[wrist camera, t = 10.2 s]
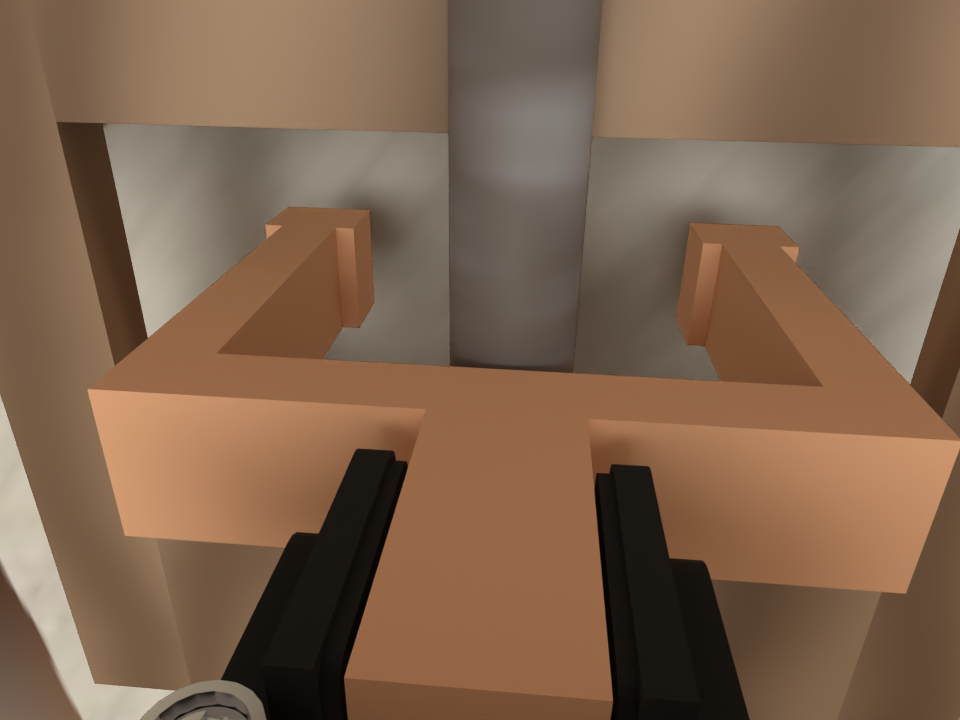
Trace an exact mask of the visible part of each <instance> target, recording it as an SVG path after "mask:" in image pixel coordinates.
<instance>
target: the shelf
mask: <svg viewBox="0 0 960 720" xmlns="http://www.w3.org/2000/svg"><path fill="white" fill-rule="evenodd" d="M102 123H114V124H150V125H186V126H221V127H257V128H293V129H329V130H364V131H400V132H436V133H449V288H450V366H452V367H470V368H488V369H506V370H524V371H542V372H561V373H573V367H574V354H575V342H576V329H577V317H578V304H579V292H580V279H581V266H582V254H583V241H584V229H585V216H586V203H587V191H588V178H589V166H590V153H591V141H592V137H615V138H650V139H686V140H722V141H758V142H793V143H829V144H865V145H901V146H936V147H960V0H0V395H1V398H2V401H3V404H4V407H5V410H6V413H7V416H8V419H9V422H10V425H11V428H12V431H13V434H14V438H15V441H16V444H17V447H18V450H19V453H20V456H21V459H22V462H23V465H24V468H25V471H26V474H27V477H28V481H29V484H30V487H31V490H32V493H33V496H34V499H35V502H36V505H37V508H38V511H39V514H40V517H41V520H42V524H43V527H44V530H45V533H46V536H47V539H48V542H49V545H50V548H51V551H52V554H53V557H54V560H55V563H56V566H57V570H58V573H59V576H60V579H61V582H62V585H63V588H64V591H65V594H66V597H67V600H68V603H69V606H70V609H71V613H72V616H73V619H74V622H75V625H76V628H77V631H78V634H79V637H80V640H81V643H82V646H83V649H84V652H85V656H86V659H87V662H88V665H89V668H90V671H91V674H92V677H93V680H94V683H95V684H107V685H118V686H130V687H141V688H153V689H164V690H178V689H180V688H183V687H186V686H189V685H192V684H195V683H198V682H204V681H212V680H221V678H222V676H223V674H224V672H225V670H226V668H227V666H228V663H229V661H230V659H231V657H232V655H233V653H234V651H235V649H236V647H237V645H238V643H239V641H240V639H241V637H242V635H243V633H244V631H245V629H246V627H247V625H248V622H249V620H250V618H251V616H252V614H253V612H254V610H255V608H256V606H257V604H258V602H259V600H260V598H261V596H262V594H263V592H264V590H265V588H266V586H267V584H268V582H269V579H270V577H271V575H272V573H273V571H274V569H275V567H276V565H277V563H278V561H279V559H280V557H281V555H282V553H283V551H284V549H285V548H283V547H270V546H256V545H243V544H229V543H215V542H202V541H188V540H175V539H161V538H148V537H134V536H125V534H124V530H123V527H122V523H121V519H120V515H119V511H118V507H117V503H116V499H115V495H114V492H113V488H112V484H111V480H110V476H109V472H108V468H107V464H106V460H105V456H104V453H103V449H102V445H101V441H100V437H99V433H98V429H97V425H96V421H95V418H94V414H93V410H92V406H91V402H90V398H89V394H88V390H87V389H88V388H89V387H90V386H91V385H93V384H94V383H95V382H96V381H97V380H99V379H100V378H101V377H102V376H103V375H105V374H106V373H107V372H108V371H109V370H111V369H112V368H113V367H114V366H115V365H117V364H118V363H119V362H120V361H121V360H123V359H124V358H125V357H126V356H127V355H129V354H130V353H131V352H132V351H133V350H135V349H136V348H137V347H138V346H139V345H140V344H142V343H143V342H144V341H145V340H146V339H148V337H147V333H146V328H145V323H144V319H143V314H142V309H141V304H140V300H139V295H138V290H137V286H136V281H135V276H134V272H133V267H132V262H131V257H130V253H129V248H128V243H127V239H126V234H125V229H124V225H123V220H122V215H121V210H120V206H119V201H118V196H117V192H116V187H115V182H114V178H113V173H112V168H111V163H110V159H109V154H108V149H107V145H106V140H105V135H104V131H103V126H102ZM910 386H911V387H912V388H913V389H914V390H915V391H916V392H917V393H918V394H919V395H920V396H921V397H922V398H923V399H924V400H925V402H926V403H927V404H928V405H929V406H930V407H931V408H932V409H933V410H934V411H935V412H936V413H937V414H938V415H939V416H940V418H941V419H942V420H943V421H944V422H945V423H946V424H947V425H948V426H949V427H950V428H951V429H952V430H953V431H954V432H955V433H956V435H957V436H958V437H959V438H960V230H959V233H958V236H957V239H956V242H955V245H954V249H953V252H952V255H951V258H950V261H949V264H948V268H947V271H946V274H945V277H944V280H943V283H942V286H941V290H940V293H939V296H938V299H937V302H936V305H935V308H934V312H933V315H932V318H931V321H930V324H929V327H928V330H927V334H926V337H925V340H924V343H923V346H922V349H921V352H920V356H919V359H918V362H917V365H916V368H915V371H914V374H913V378H912V381H911V384H910ZM711 581H712V584H713V588H714V592H715V595H716V599H717V603H718V606H719V610H720V613H721V617H722V621H723V624H724V628H725V632H726V635H727V639H728V642H729V646H730V650H731V653H732V657H733V661H734V664H735V668H736V671H737V675H738V679H739V682H740V686H741V690H742V693H743V697H744V701H745V704H746V708H747V711H748V715H749V719H750V720H959V718H960V450H959V452H958V455H957V458H956V460H955V463H954V466H953V468H952V471H951V474H950V476H949V479H948V482H947V484H946V487H945V490H944V492H943V495H942V498H941V501H940V503H939V506H938V509H937V511H936V514H935V517H934V519H933V522H932V525H931V527H930V530H929V533H928V535H927V538H926V541H925V543H924V546H923V549H922V551H921V554H920V557H919V560H918V562H917V565H916V568H915V570H914V573H913V576H912V578H911V581H910V584H909V586H908V589H907V592H906V594H904V593H891V592H877V591H864V590H850V589H837V588H823V587H810V586H796V585H783V584H769V583H756V582H742V581H729V580H715V579H711Z"/></svg>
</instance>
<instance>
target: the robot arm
mask: <svg viewBox="0 0 960 720" xmlns="http://www.w3.org/2000/svg"><path fill="white" fill-rule="evenodd" d="M407 470H408V464H407V462H406V461H399V460H396V457H395V453H394V451H392V450H376V449H360V448H358V449H356V450H355V452H354V454H353V456H352V459H351V461H350V463H349V466H348V468H347V470H346V472H345V475H344V477H343V479H342V482H341V484H340V486H339V488H338V491H337V493H336V495H335V498H334V500H333V502H332V504H331V507H330V509H329V511H328V514H327V516H326V518H325V520H324V523H323V525H322V527H321V530H320V532H319V533H304V532H296V533H295V534H293V535H292V536H291V538H290V539H289V541H288V543H287V545H286V547H285V549H284V551H283V553H282V555H281V557H280V559H279V561H278V563H277V565H276V567H275V569H274V571H273V573H272V575H271V577H270V579H269V582H268V584H267V586H266V588H265V590H264V592H263V594H262V596H261V598H260V600H259V602H258V604H257V606H256V608H255V610H254V612H253V614H252V616H251V618H250V620H249V622H248V625H247V627H246V629H245V631H244V633H243V635H242V637H241V639H240V641H239V643H238V645H237V647H236V649H235V651H234V653H233V655H232V657H231V659H230V661H229V663H228V666H227V668H226V670H225V672H224V674H223V676H222V678H221V680H212V681H204V682H198V683H195V684H192V685H189V686H186V687H183V688H180V689H178V690H176V691H175V692H173V693H171V694H170V695H168V696H166V697H165V698H163V699H161V700H160V701H158V702H157V703H156V704H155V705H154V706H153V707H152V708H151V709H150V710H149V711H148V712H147V713H145V714H144V715H143V716H142V717H141V719H140V720H348V715H347V705H346V694H345V684H344V676H345V673H346V669H347V666H348V663H349V660H350V656H351V653H352V650H353V647H354V643H355V640H356V637H357V633H358V630H359V627H360V624H361V620H362V617H363V614H364V611H365V607H366V604H367V601H368V597H369V594H370V591H371V588H372V584H373V581H374V578H375V574H376V571H377V568H378V565H379V561H380V558H381V555H382V552H383V548H384V545H385V542H386V538H387V535H388V532H389V529H390V525H391V522H392V519H393V516H394V512H395V509H396V506H397V502H398V499H399V496H400V493H401V489H402V486H403V483H404V480H405V476H406V473H407ZM594 493H595V505H596V516H597V527H598V538H599V549H600V560H601V572H602V583H603V594H604V605H605V616H606V627H607V639H608V650H609V661H610V672H611V683H612V694H613V705H612V712H611V719H610V720H750V719H749V715H748V711H747V708H746V704H745V701H744V697H743V693H742V690H741V686H740V682H739V679H738V675H737V671H736V668H735V664H734V661H733V657H732V653H731V650H730V646H729V642H728V639H727V635H726V632H725V628H724V624H723V621H722V617H721V613H720V610H719V606H718V603H717V599H716V595H715V592H714V588H713V584H712V581H711V577H710V573H709V571H708V568H707V565H706V564H705V562H704V561H703V560H689V559H675V558H669V553H668V548H667V544H666V539H665V534H664V530H663V525H662V520H661V515H660V511H659V506H658V501H657V496H656V492H655V487H654V482H653V477H652V473H651V469H650V467H649V466H638V465H621V464H612V465H611V468H610V473H609V474H608V473H597V474H596V480H595V489H594ZM959 720H960V718H959Z"/></svg>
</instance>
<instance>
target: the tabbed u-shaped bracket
mask: <svg viewBox="0 0 960 720" xmlns="http://www.w3.org/2000/svg"><path fill="white" fill-rule="evenodd" d="M265 228H266V237H267V239H266V240H265V241H264V242H262V243H261V244H260V245H259V246H258V247H257V248H255V249H254V250H253V251H252V252H251V253H249V254H248V255H247V256H246V257H245V258H243V259H242V260H241V261H240V262H239V263H237V264H236V265H235V266H234V267H233V268H231V269H230V270H229V271H228V272H227V273H225V274H224V275H223V276H222V277H221V278H219V279H218V280H217V281H216V282H215V283H213V284H212V285H211V286H210V287H209V288H207V289H206V290H205V291H204V292H203V293H201V294H200V295H199V296H198V297H197V298H196V299H194V300H193V301H192V302H191V303H190V304H188V305H187V306H186V307H185V308H184V309H182V310H181V311H180V312H179V313H178V314H176V315H175V316H174V317H173V318H172V319H170V320H169V321H168V322H167V323H166V324H164V325H163V326H162V327H161V328H160V329H158V330H157V331H156V332H155V333H154V334H152V335H151V336H150V337H149V338H148V339H146V340H145V341H144V342H143V343H142V344H140V345H139V346H138V347H137V348H136V349H135V350H133V351H132V352H131V353H130V354H129V355H127V356H126V357H125V358H124V359H123V360H121V361H120V362H119V363H118V364H117V365H115V366H114V367H113V368H112V369H111V370H109V371H108V372H107V373H106V374H105V375H103V376H102V377H101V378H100V379H99V380H97V381H96V382H95V383H94V384H93V385H91V386H90V387H89V388H88V389H87V390H88V394H89V398H90V402H91V406H92V410H93V414H94V418H95V421H96V425H97V429H98V433H99V437H100V441H101V445H102V449H103V453H104V456H105V460H106V464H107V468H108V472H109V476H110V480H111V484H112V488H113V492H114V495H115V499H116V503H117V507H118V511H119V515H120V519H121V523H122V527H123V530H124V534H125V536H134V537H148V538H161V539H175V540H188V541H202V542H215V543H229V544H243V545H256V546H270V547H283V548H285V547H286V545H287V543H288V541H289V539H290V538H291V536H292V535H293V534H295V533H296V532H304V533H319V532H320V530H321V527H322V525H323V523H324V520H325V518H326V516H327V514H328V511H329V509H330V507H331V504H332V502H333V500H334V498H335V495H336V493H337V491H338V488H339V486H340V484H341V482H342V479H343V477H344V475H345V472H346V470H347V468H348V466H349V463H350V461H351V459H352V456H353V454H354V452H355V450H356V449H358V448H360V449H376V450H392V451H394V453H395V457H396V460H399V461H406V462H407V464H408V470H407V473H406V476H405V480H404V483H403V486H402V489H401V493H400V496H399V499H398V502H397V506H396V509H395V512H394V516H393V519H392V522H391V525H390V529H389V532H388V535H387V538H386V542H385V545H384V548H383V552H382V555H381V558H380V561H379V565H378V568H377V571H376V574H375V578H374V581H373V584H372V588H371V591H370V594H369V597H368V601H367V604H366V607H365V611H364V614H363V617H362V620H361V624H360V627H359V630H358V633H357V637H356V640H355V643H354V647H353V650H352V653H351V656H350V660H349V663H348V666H347V669H346V673H345V676H344V684H345V694H346V705H347V715H348V720H610V719H611V712H612V705H613V694H612V683H611V672H610V661H609V650H608V639H607V627H606V616H605V605H604V594H603V583H602V572H601V560H600V549H599V538H598V527H597V516H596V505H595V493H594V489H595V480H596V474H597V473H608V474H609V473H610V468H611V465H612V464H621V465H638V466H649V467H650V469H651V473H652V477H653V482H654V487H655V492H656V496H657V501H658V506H659V511H660V515H661V520H662V525H663V530H664V534H665V539H666V544H667V548H668V553H669V558H675V559H689V560H703V561H704V562H705V564H706V565H707V568H708V571H709V573H710V577H711V579H715V580H729V581H742V582H756V583H769V584H783V585H796V586H810V587H823V588H837V589H850V590H864V591H877V592H891V593H904V594H906V592H907V589H908V586H909V584H910V581H911V578H912V576H913V573H914V570H915V568H916V565H917V562H918V560H919V557H920V554H921V551H922V549H923V546H924V543H925V541H926V538H927V535H928V533H929V530H930V527H931V525H932V522H933V519H934V517H935V514H936V511H937V509H938V506H939V503H940V501H941V498H942V495H943V492H944V490H945V487H946V484H947V482H948V479H949V476H950V474H951V471H952V468H953V466H954V463H955V460H956V458H957V455H958V452H959V450H960V438H959V437H958V436H957V435H956V433H955V432H954V431H953V430H952V429H951V428H950V427H949V426H948V425H947V424H946V423H945V422H944V421H943V420H942V419H941V418H940V416H939V415H938V414H937V413H936V412H935V411H934V410H933V409H932V408H931V407H930V406H929V405H928V404H927V403H926V402H925V400H924V399H923V398H922V397H921V396H920V395H919V394H918V393H917V392H916V391H915V390H914V389H913V388H912V387H911V386H910V384H909V383H908V382H907V381H906V380H905V379H904V378H903V377H902V376H901V375H900V374H899V373H898V372H897V371H896V370H895V368H894V367H893V366H892V365H891V364H890V363H889V362H888V361H887V360H886V359H885V358H884V357H883V356H882V355H881V354H880V352H879V351H878V350H877V349H876V348H875V347H874V346H873V345H872V344H871V343H870V342H869V341H868V340H867V339H866V338H865V336H864V335H863V334H862V333H861V332H860V331H859V330H858V329H857V328H856V327H855V326H854V325H853V324H852V323H851V322H850V320H849V319H848V318H847V317H846V316H845V315H844V314H843V313H842V312H841V311H840V310H839V309H838V308H837V307H836V306H835V305H834V303H833V302H832V301H831V300H830V299H829V298H828V297H827V296H826V295H825V294H824V293H823V292H822V291H821V290H820V289H819V287H818V286H817V285H816V284H815V283H814V282H813V281H812V280H811V279H810V278H809V277H808V276H807V275H806V274H805V273H804V271H803V270H802V269H801V268H800V267H799V266H798V265H797V264H796V261H797V256H798V252H799V246H798V245H797V244H796V243H795V242H794V241H793V240H792V239H791V238H790V237H788V236H787V235H786V234H785V233H784V232H783V231H782V230H781V229H780V228H779V227H778V226H756V225H732V224H707V223H690V229H689V235H688V242H687V249H686V255H685V262H684V269H683V275H682V282H681V289H680V295H679V302H678V309H677V315H676V318H677V321H678V323H679V326H680V328H681V331H682V333H683V336H684V338H685V341H686V344H687V345H698V346H705V347H706V349H707V352H708V354H709V356H710V358H711V361H712V363H713V365H714V367H715V370H716V372H717V374H718V376H719V378H720V381H706V380H688V379H670V378H651V377H633V376H615V375H597V374H579V373H561V372H542V371H524V370H506V369H488V368H470V367H452V366H434V365H415V364H397V363H379V362H361V361H343V360H325V359H323V357H324V356H325V354H326V353H327V351H328V350H329V348H330V347H331V345H332V343H333V342H334V340H335V339H336V337H337V336H338V334H339V332H340V331H341V329H342V328H343V327H351V328H360V326H361V325H362V323H363V321H364V320H365V318H366V316H367V314H368V313H369V311H370V309H371V308H372V306H373V304H374V287H373V267H372V248H371V229H370V210H357V209H332V208H307V207H287V208H286V209H285V210H284V211H282V212H281V213H280V214H278V215H277V216H276V217H275V218H273V219H272V220H271V221H269V222H268V223H267V224H266V225H265Z"/></svg>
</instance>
